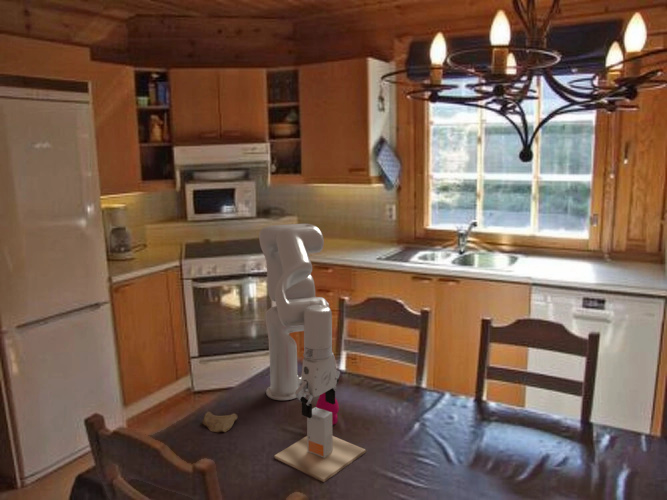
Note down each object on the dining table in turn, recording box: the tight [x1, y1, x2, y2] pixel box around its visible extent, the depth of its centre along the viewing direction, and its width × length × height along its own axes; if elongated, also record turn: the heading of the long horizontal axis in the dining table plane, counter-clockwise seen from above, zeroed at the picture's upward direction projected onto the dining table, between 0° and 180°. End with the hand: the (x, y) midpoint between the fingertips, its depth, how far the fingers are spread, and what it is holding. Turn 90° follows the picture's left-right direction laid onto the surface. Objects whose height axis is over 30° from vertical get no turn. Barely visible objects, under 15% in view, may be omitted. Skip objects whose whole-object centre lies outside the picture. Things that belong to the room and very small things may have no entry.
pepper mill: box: [315, 393, 340, 426], centre depth 170 cm, size 7×7×20 cm
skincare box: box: [306, 406, 334, 458], centre depth 152 cm, size 6×4×12 cm
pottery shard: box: [202, 411, 239, 433], centre depth 171 cm, size 11×4×10 cm
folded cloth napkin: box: [274, 435, 367, 483], centre depth 153 cm, size 18×18×1 cm
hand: (318, 409), depth 151 cm, fingers open, 9 cm apart
